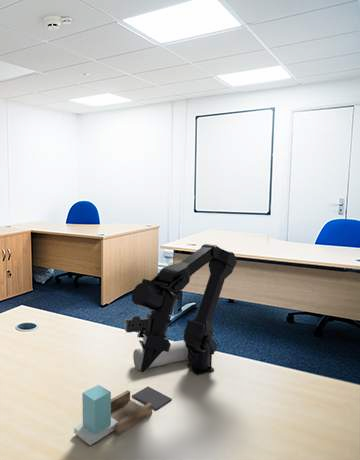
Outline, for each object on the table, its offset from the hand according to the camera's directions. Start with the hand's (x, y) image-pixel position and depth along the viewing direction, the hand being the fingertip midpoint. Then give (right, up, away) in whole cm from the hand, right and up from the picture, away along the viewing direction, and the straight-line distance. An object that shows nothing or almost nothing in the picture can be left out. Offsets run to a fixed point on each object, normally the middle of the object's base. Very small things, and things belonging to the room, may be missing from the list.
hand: (142, 371), depth 91 cm
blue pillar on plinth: (-9, -10, -10) cm, 17 cm away
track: (-4, -9, -4) cm, 11 cm away
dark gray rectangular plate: (+2, -9, +3) cm, 9 cm away
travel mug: (-4, -4, +18) cm, 19 cm away
